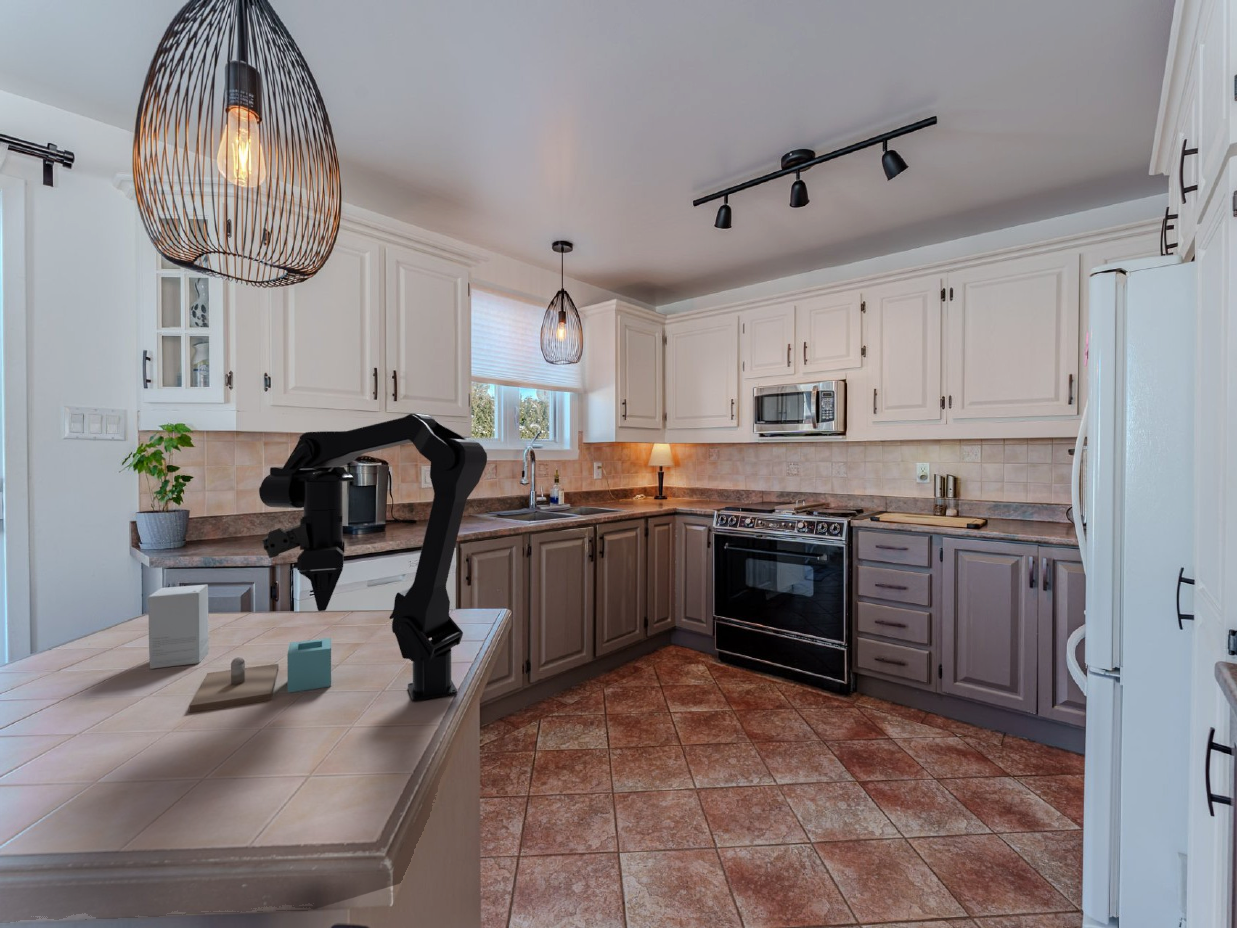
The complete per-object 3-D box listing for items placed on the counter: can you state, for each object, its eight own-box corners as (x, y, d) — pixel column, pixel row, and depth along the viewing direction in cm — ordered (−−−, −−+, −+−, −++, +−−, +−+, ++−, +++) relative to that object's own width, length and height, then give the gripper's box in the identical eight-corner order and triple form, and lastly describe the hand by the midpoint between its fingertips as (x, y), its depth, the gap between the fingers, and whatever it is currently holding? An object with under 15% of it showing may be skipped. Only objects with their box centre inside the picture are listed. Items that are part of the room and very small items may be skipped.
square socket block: (331, 686, 93) (331, 648, 93) (287, 692, 90) (287, 653, 90) (330, 673, 98) (330, 637, 98) (289, 679, 95) (289, 642, 95)
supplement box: (210, 651, 109) (210, 583, 109) (199, 664, 102) (199, 591, 102) (161, 656, 106) (161, 586, 106) (147, 669, 100) (146, 595, 100)
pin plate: (271, 699, 87) (271, 666, 87) (189, 712, 83) (189, 677, 83) (278, 669, 100) (278, 640, 100) (207, 679, 95) (207, 648, 95)
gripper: (273, 506, 101) (273, 596, 102) (257, 516, 84) (257, 624, 85) (344, 504, 106) (344, 590, 106) (343, 513, 89) (343, 616, 89)
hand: (323, 604), depth 96 cm, fingers open, 9 cm apart
